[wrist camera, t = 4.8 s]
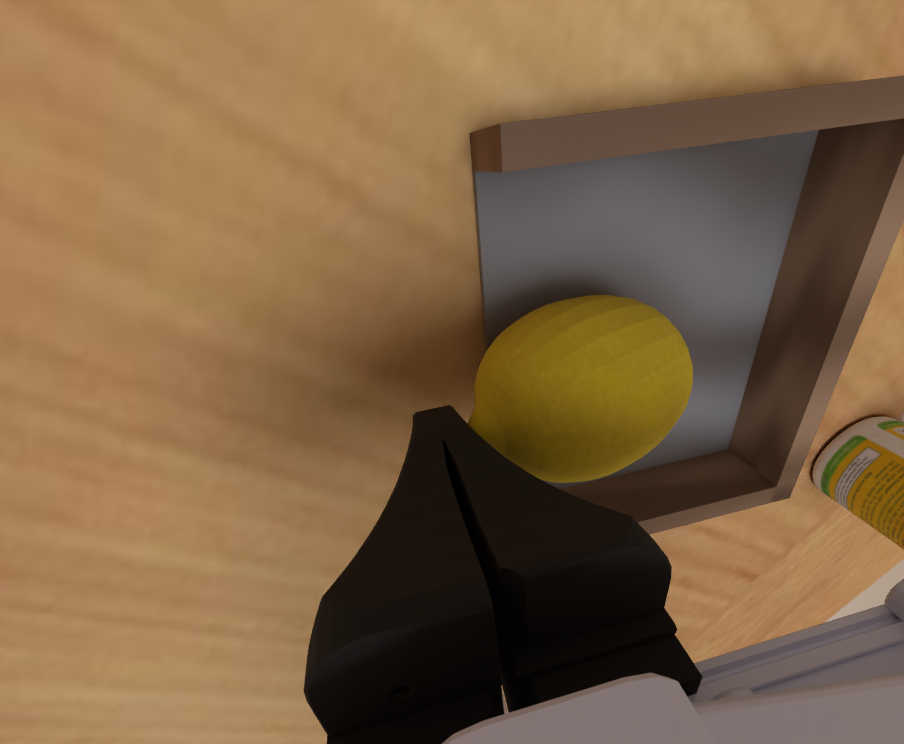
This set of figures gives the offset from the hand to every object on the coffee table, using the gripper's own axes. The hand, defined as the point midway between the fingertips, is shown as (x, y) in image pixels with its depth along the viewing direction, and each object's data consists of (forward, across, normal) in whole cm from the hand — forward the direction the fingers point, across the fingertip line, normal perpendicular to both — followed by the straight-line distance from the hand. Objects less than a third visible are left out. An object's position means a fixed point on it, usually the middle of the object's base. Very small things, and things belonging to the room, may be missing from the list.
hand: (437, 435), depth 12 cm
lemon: (-1, -1, 0) cm, 1 cm away
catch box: (+3, -9, 0) cm, 10 cm away
